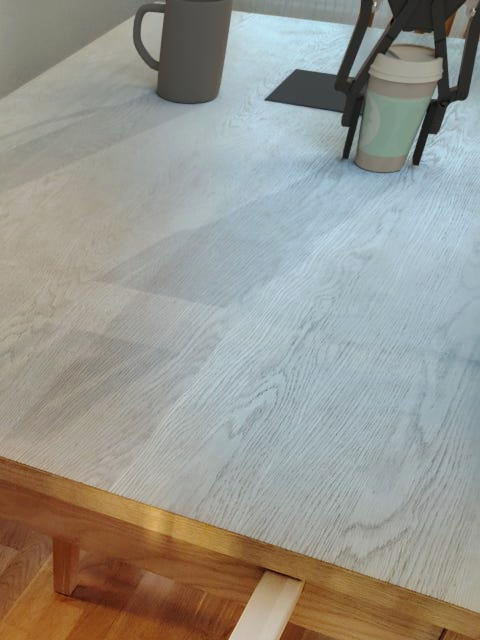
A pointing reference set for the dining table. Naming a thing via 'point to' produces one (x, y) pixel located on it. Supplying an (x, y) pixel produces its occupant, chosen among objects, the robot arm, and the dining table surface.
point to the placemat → (311, 91)
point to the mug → (188, 47)
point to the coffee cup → (396, 105)
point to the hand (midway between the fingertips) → (380, 158)
